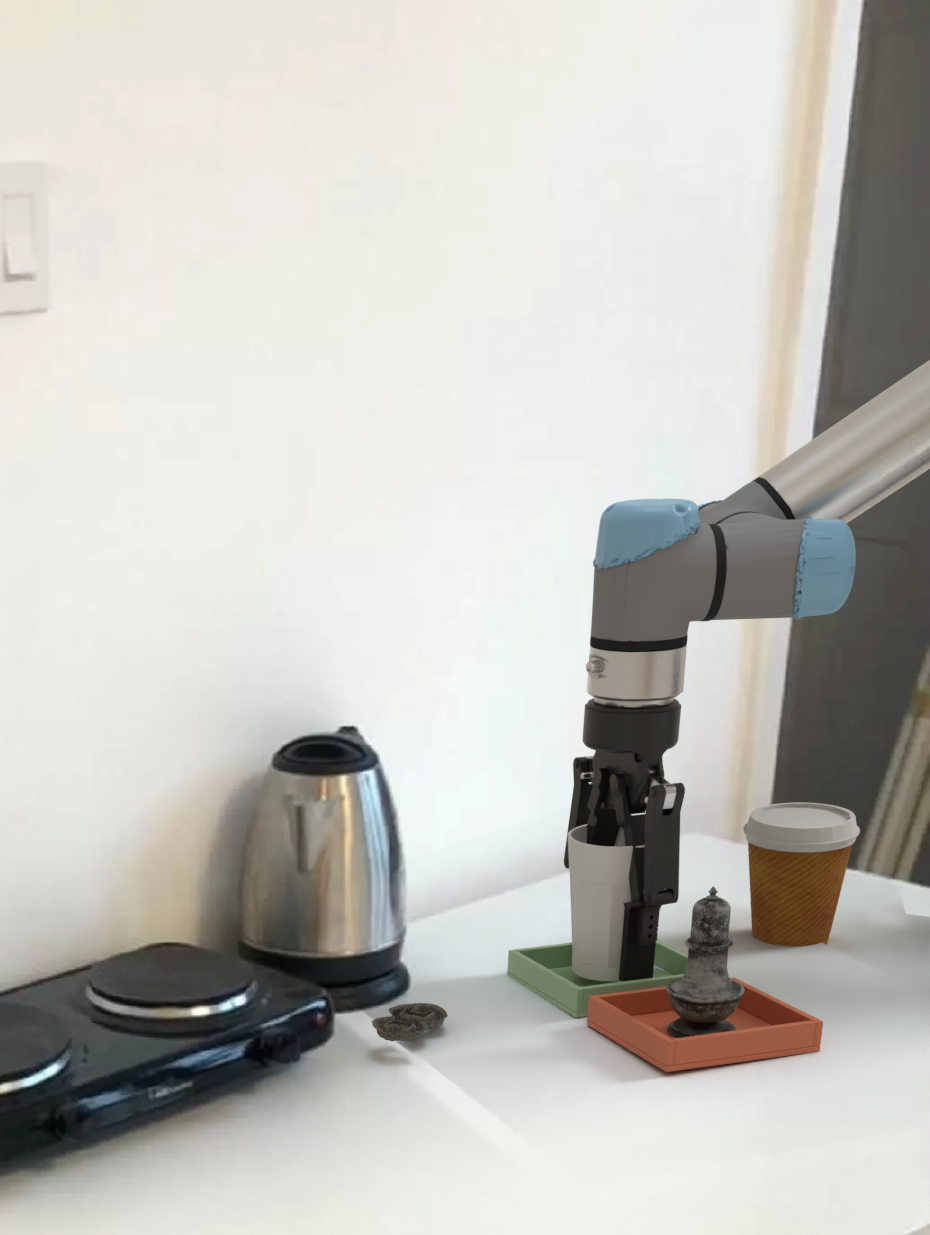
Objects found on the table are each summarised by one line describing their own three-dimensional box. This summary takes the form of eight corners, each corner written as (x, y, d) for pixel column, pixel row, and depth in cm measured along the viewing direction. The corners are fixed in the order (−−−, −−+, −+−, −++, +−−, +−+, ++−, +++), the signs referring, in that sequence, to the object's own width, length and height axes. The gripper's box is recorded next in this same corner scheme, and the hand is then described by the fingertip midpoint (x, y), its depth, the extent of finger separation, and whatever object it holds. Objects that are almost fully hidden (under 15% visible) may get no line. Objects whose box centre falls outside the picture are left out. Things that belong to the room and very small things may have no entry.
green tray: (642, 960, 183) (644, 933, 182) (719, 999, 172) (721, 971, 171) (506, 977, 181) (508, 950, 180) (575, 1018, 170) (577, 989, 169)
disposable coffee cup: (850, 963, 179) (865, 830, 174) (734, 960, 182) (745, 829, 177) (843, 929, 187) (857, 801, 182) (732, 926, 190) (743, 800, 185)
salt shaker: (649, 1034, 164) (659, 890, 159) (684, 1012, 167) (695, 871, 162) (719, 1049, 160) (732, 902, 155) (754, 1026, 163) (767, 882, 158)
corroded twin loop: (358, 1039, 168) (358, 1027, 168) (404, 1009, 174) (404, 997, 173) (414, 1049, 165) (414, 1037, 165) (458, 1018, 171) (459, 1006, 170)
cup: (563, 984, 174) (569, 848, 169) (559, 954, 181) (565, 822, 176) (662, 984, 172) (671, 846, 167) (654, 953, 179) (663, 819, 174)
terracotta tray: (731, 1005, 170) (734, 977, 170) (819, 1051, 159) (823, 1021, 158) (586, 1024, 168) (588, 995, 167) (666, 1072, 157) (668, 1041, 156)
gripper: (532, 684, 175) (516, 940, 184) (656, 723, 157) (632, 1005, 166) (612, 676, 176) (593, 931, 185) (744, 714, 158) (716, 995, 167)
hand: (611, 966), depth 176 cm, fingers closed on cup, 7 cm apart
